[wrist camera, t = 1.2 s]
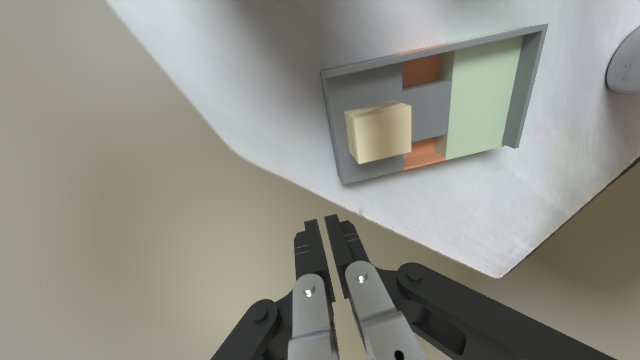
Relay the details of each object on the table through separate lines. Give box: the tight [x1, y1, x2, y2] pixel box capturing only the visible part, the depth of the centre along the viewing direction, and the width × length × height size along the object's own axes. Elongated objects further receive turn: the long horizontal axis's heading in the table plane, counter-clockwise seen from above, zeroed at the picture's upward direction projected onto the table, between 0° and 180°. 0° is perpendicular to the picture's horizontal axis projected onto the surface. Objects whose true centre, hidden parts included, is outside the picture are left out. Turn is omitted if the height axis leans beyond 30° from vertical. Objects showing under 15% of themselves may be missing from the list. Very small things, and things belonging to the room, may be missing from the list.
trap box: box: [320, 24, 548, 185], centre depth 28 cm, size 23×14×5 cm, turn 101°
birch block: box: [344, 100, 411, 164], centre depth 26 cm, size 6×5×4 cm
